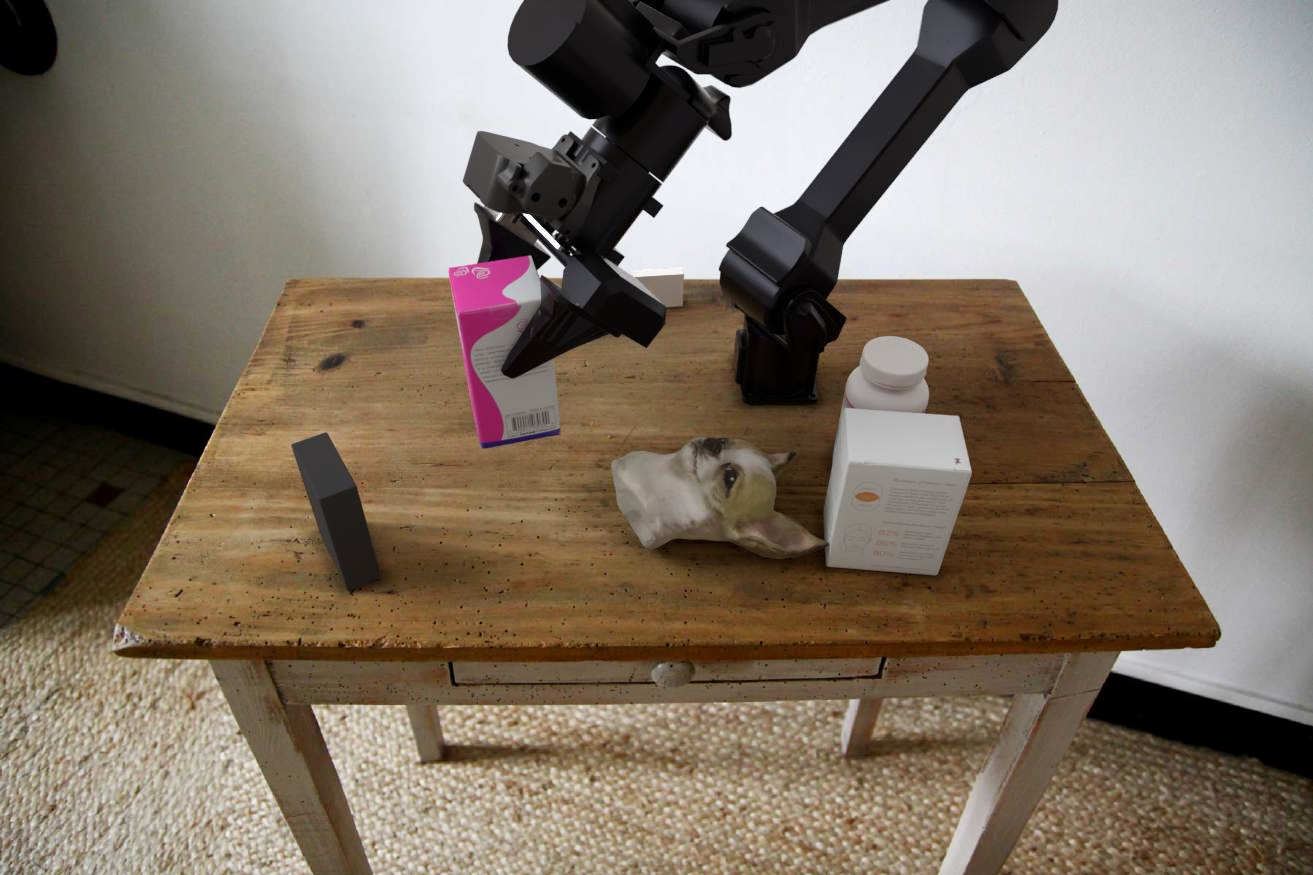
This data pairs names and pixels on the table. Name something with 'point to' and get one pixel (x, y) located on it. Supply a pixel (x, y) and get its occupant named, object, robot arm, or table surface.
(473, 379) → the supplement box
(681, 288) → the eraser
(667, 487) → the ceramic sculpture
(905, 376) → the pill bottle
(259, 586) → the table surface
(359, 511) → the black rubber pad
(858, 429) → the small box
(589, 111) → the robot arm
